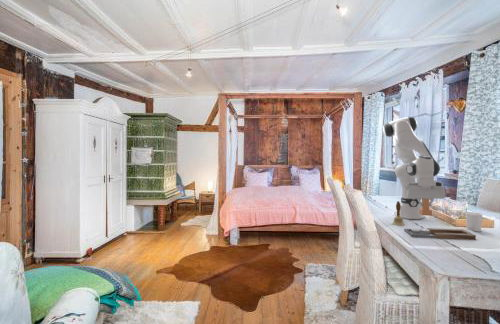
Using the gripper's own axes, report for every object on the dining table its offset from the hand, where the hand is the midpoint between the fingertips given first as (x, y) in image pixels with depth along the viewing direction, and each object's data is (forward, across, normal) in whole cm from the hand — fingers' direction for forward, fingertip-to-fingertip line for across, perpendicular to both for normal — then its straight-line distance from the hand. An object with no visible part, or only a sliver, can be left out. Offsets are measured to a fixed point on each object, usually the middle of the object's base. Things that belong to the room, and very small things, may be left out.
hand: (425, 206), depth 171 cm
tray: (+15, -8, -12) cm, 21 cm away
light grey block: (+15, -5, -12) cm, 19 cm away
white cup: (+15, +29, +6) cm, 33 cm away
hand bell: (+15, -12, +10) cm, 22 cm away
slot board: (+15, +8, -12) cm, 21 cm away
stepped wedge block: (+5, 0, 0) cm, 5 cm away
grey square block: (+15, -10, -12) cm, 21 cm away
